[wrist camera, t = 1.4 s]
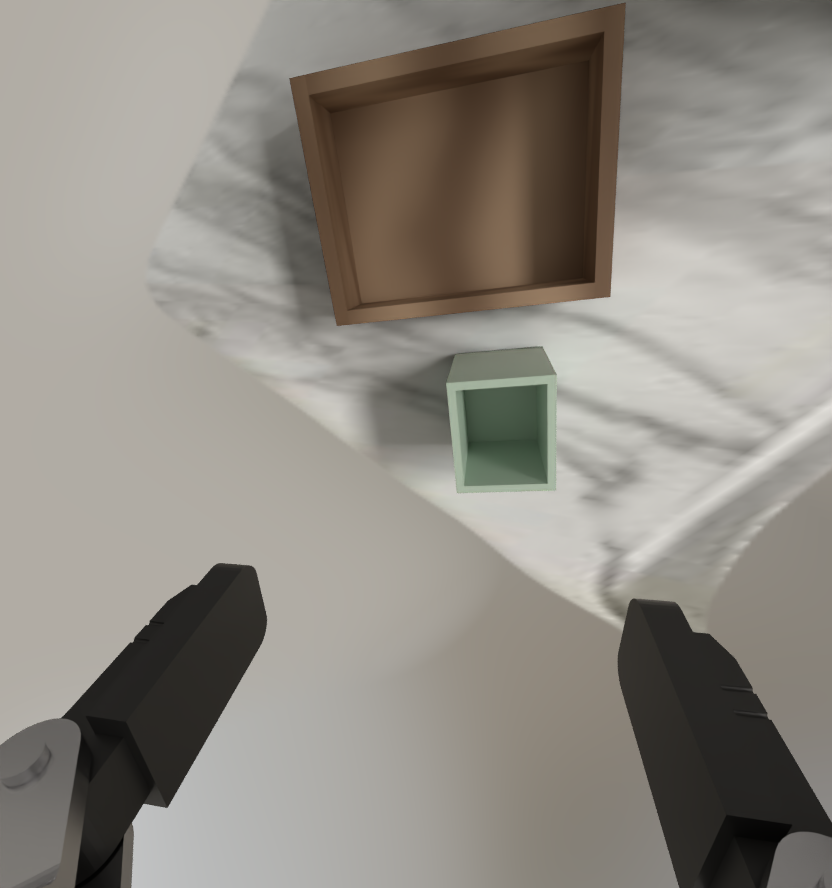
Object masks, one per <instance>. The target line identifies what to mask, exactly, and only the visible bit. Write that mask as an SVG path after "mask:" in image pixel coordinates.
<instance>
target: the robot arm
mask: <svg viewBox="0 0 832 888" xmlns="http://www.w3.org/2000/svg"><path fill="white" fill-rule="evenodd" d="M266 625H267V616H266V611H265V607H264V602H263V599H262V594H261V590H260V586H259V581H258V577H257V573H256V570H255V569H254V567H252V566H249V565H237V564H225V563H219V564H216V565H215V566H213V567H212V568H211V570H210V571H209V572H208V573H207V574H206V575H205V576H204V578H203V579H202V580H201V581H200V582H199V583H198V585H190V586H189V587H188V588H186V589H185V590H183V591H182V592H180V593H179V594H177V595H176V596H174V597H173V598H171V599H170V600H168V601H167V602H166V604H165V605H164V606H163V607H162V608H161V609H160V610H159V611H158V612H157V613H156V615H155V616H154V617H153V618H152V619H151V620H150V623H149V625H146V626H145V627H144V628H143V629H142V630H141V631H140V632H139V633H138V634H137V636H136V637H135V639H134V642H133V643H129V644H128V646H127V647H126V648H125V649H124V650H123V651H122V652H121V653H120V655H118V657H117V658H116V659H115V660H114V661H113V662H112V663H111V665H109V667H108V668H107V669H106V670H105V671H104V672H103V673H102V674H101V675H100V676H99V678H98V679H97V680H96V681H95V682H94V683H93V684H92V685H91V686H90V688H89V689H88V690H87V691H86V692H85V693H84V694H83V695H82V696H81V697H80V699H79V700H78V701H77V702H76V703H75V704H74V705H73V706H72V707H71V709H70V710H69V711H68V712H67V713H66V714H65V715H64V716H63V717H62V718H59V719H51V720H46V721H43V722H40V723H37V724H34V725H32V726H30V727H28V728H26V729H24V730H22V731H20V732H19V733H17V734H15V735H14V736H12V737H11V738H9V739H8V740H7V741H5V742H4V743H3V744H1V745H0V888H131V883H132V862H133V840H134V831H133V825H132V821H133V820H134V818H135V817H136V815H137V813H138V812H139V810H140V809H141V807H142V805H143V804H149V805H154V806H160V807H165V808H167V807H168V806H169V804H170V802H171V801H172V799H173V797H174V795H175V793H176V792H177V790H178V789H179V787H180V785H181V783H182V782H183V780H184V778H185V776H186V775H187V773H188V771H189V769H190V768H191V766H192V764H193V762H194V761H195V759H196V757H197V755H198V754H199V752H200V750H201V748H202V747H203V745H204V743H205V741H206V740H207V738H208V736H209V735H210V733H211V731H212V729H213V728H214V726H215V724H216V722H217V721H218V719H219V717H220V715H221V714H222V711H223V710H224V708H225V707H226V705H227V703H228V701H229V700H230V698H231V696H232V694H233V693H234V691H235V689H236V687H237V686H238V684H239V682H240V680H241V678H242V677H243V675H244V673H245V672H246V670H247V668H248V667H249V665H250V663H251V661H252V659H253V658H254V656H255V654H256V652H257V651H258V649H259V647H260V645H261V644H262V641H263V639H264V636H265V632H266ZM618 674H619V681H620V686H621V689H622V693H623V696H624V700H625V703H626V707H627V710H628V713H629V717H630V720H631V724H632V726H633V731H634V734H635V737H636V741H637V744H638V748H639V751H640V754H641V758H642V761H643V765H644V768H645V772H646V775H647V778H648V782H649V785H650V789H651V792H652V795H653V799H654V802H655V806H656V809H657V813H658V816H659V820H660V823H661V826H662V830H663V833H664V837H665V840H666V844H667V847H668V850H669V854H670V857H671V861H672V864H673V868H674V871H675V874H676V878H677V881H678V885H679V888H832V822H831V821H830V819H829V817H828V816H827V814H826V812H825V811H824V809H823V807H822V805H821V804H820V802H819V800H818V799H817V797H816V795H815V793H814V792H813V790H812V789H811V787H810V785H809V783H808V782H807V780H806V778H805V777H804V775H803V773H802V771H801V770H800V768H799V766H798V764H797V763H796V761H795V759H794V758H793V756H792V754H791V753H790V751H789V749H788V747H787V746H786V744H785V742H784V741H783V739H782V738H781V736H780V734H779V732H778V730H777V729H776V727H775V725H774V724H773V722H772V720H769V719H768V717H767V712H766V710H765V708H764V707H763V705H762V703H761V702H760V700H759V698H758V696H757V695H756V694H754V693H753V691H752V686H751V684H750V683H749V681H748V679H747V678H746V676H745V674H744V673H743V671H742V669H741V668H740V666H739V664H738V662H737V661H736V659H735V658H734V657H733V656H732V655H731V654H730V653H729V652H728V651H727V650H726V649H725V648H723V647H722V646H721V645H720V644H719V643H718V642H717V641H716V640H715V639H714V638H713V637H712V636H711V635H710V634H706V633H695V632H693V631H692V629H691V627H690V626H689V624H688V622H687V620H686V618H685V616H684V614H683V612H682V610H681V608H680V607H679V606H678V604H677V603H675V602H670V601H658V600H646V599H632V600H631V601H630V603H629V607H628V611H627V616H626V620H625V625H624V629H623V634H622V638H621V643H620V647H619V652H618Z"/></svg>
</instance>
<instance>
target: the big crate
mask: <svg viewBox="0 0 832 888" xmlns="http://www.w3.org/2000/svg"><path fill="white" fill-rule="evenodd" d="M625 6H626V3H622V4H617V5H613V6H608V7H604V8H599V9H595V10H591V11H586V12H582V13H577V14H573V15H568V16H564V17H559V18H555V19H551V20H546V21H542V22H537V23H533V24H528V25H524V26H519V27H515V28H511V29H506V30H502V31H497V32H493V33H488V34H484V35H480V36H475V37H471V38H466V39H462V40H457V41H453V42H448V43H444V44H440V45H435V46H431V47H426V48H422V49H417V50H413V51H409V52H404V53H400V54H395V55H391V56H386V57H382V58H377V59H373V60H369V61H364V62H360V63H355V64H351V65H346V66H342V67H337V68H333V69H329V70H324V71H320V72H315V73H311V74H306V75H302V76H298V77H293V78H289V79H290V84H291V89H292V94H293V99H294V105H295V110H296V115H297V120H298V126H299V131H300V136H301V141H302V146H303V152H304V157H305V162H306V167H307V173H308V178H309V183H310V188H311V193H312V199H313V204H314V209H315V214H316V220H317V225H318V230H319V235H320V241H321V246H322V251H323V256H324V261H325V267H326V272H327V277H328V282H329V288H330V293H331V298H332V303H333V308H334V314H335V319H336V324H337V326H341V325H350V324H360V323H369V322H378V321H388V320H397V319H407V318H416V317H425V316H435V315H444V314H454V313H463V312H472V311H482V310H491V309H501V308H510V307H519V306H529V305H538V304H548V303H557V302H566V301H576V300H585V299H595V298H604V297H610V293H611V273H612V254H613V235H614V216H615V197H616V178H617V159H618V139H619V120H620V101H621V82H622V63H623V44H624V25H625Z"/></svg>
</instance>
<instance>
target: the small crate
mask: <svg viewBox="0 0 832 888" xmlns="http://www.w3.org/2000/svg"><path fill="white" fill-rule="evenodd" d="M446 387H447V397H448V407H449V418H450V428H451V438H452V448H453V458H454V468H455V478H456V489H457V493H482V492H518V491H554V490H556V397H557V374H556V372H555V371H554V369H553V367H552V365H551V363H550V361H549V359H548V357H547V355H546V353H545V351H544V349H543V347H530V348H519V349H508V350H497V351H485V352H474V353H463V354H455V357H454V360H453V363H452V366H451V369H450V372H449V376H448V379H447V382H446Z"/></svg>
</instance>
